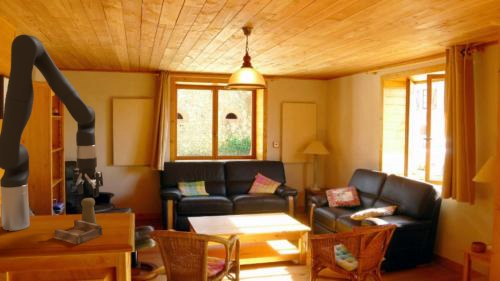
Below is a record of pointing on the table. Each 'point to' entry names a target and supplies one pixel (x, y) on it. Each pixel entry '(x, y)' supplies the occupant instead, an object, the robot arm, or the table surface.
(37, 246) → the table surface
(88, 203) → the cork
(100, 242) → the table surface
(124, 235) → the table surface
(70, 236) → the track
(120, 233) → the table surface
